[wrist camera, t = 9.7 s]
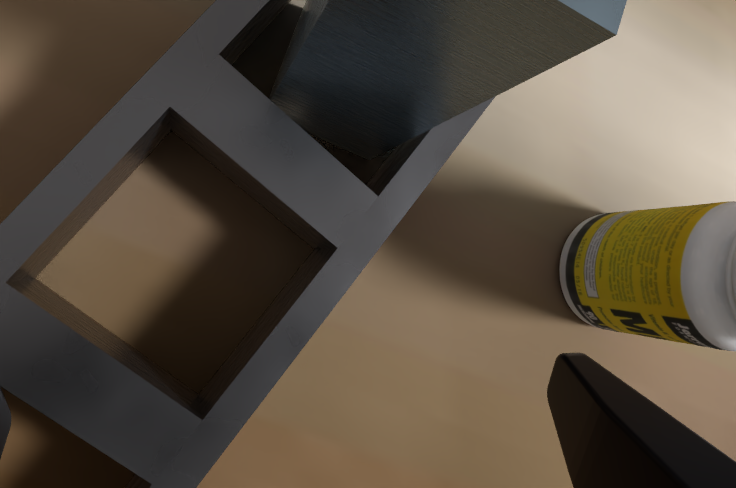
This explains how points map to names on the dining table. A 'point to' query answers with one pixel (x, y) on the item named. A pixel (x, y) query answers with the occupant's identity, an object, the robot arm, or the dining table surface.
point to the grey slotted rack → (258, 179)
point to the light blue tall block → (422, 61)
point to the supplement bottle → (656, 273)
